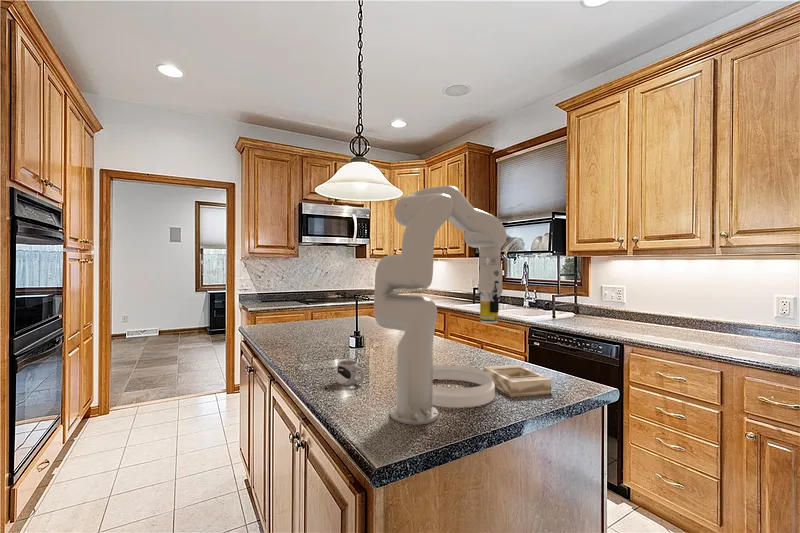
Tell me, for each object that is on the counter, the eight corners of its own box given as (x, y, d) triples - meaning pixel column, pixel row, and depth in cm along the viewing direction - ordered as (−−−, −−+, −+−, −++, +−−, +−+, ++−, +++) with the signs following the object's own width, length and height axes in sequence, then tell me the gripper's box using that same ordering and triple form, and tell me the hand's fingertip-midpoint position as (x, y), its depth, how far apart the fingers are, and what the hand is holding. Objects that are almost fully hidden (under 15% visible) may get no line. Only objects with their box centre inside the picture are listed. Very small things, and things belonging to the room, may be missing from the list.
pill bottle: (493, 324, 138) (494, 291, 138) (476, 322, 142) (477, 290, 142) (500, 322, 143) (501, 290, 143) (484, 320, 147) (484, 289, 147)
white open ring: (496, 412, 107) (496, 392, 107) (400, 404, 112) (400, 385, 112) (493, 383, 133) (493, 367, 133) (415, 377, 139) (415, 362, 139)
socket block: (551, 393, 122) (551, 378, 122) (511, 397, 118) (511, 381, 118) (519, 377, 139) (519, 364, 139) (483, 380, 136) (483, 366, 136)
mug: (333, 383, 130) (333, 363, 130) (345, 378, 136) (345, 359, 136) (357, 388, 125) (358, 367, 125) (369, 383, 131) (369, 363, 131)
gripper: (511, 262, 135) (511, 313, 135) (487, 262, 152) (486, 308, 152) (492, 261, 133) (491, 314, 133) (469, 262, 150) (469, 308, 150)
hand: (489, 310), depth 142 cm, fingers closed on pill bottle, 6 cm apart
